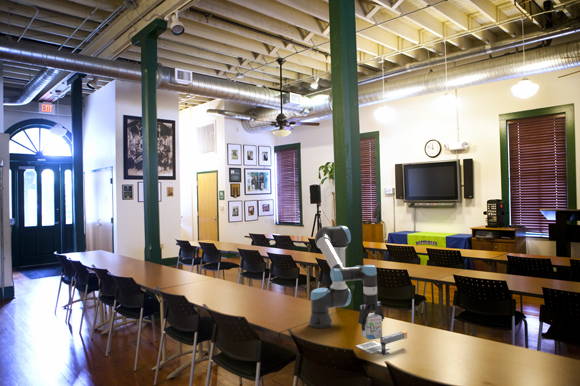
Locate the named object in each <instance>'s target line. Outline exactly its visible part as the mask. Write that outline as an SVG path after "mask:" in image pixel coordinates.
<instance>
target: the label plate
mask: <svg viewBox="0 0 580 386" xmlns="http://www.w3.org/2000/svg"><path fill="white" fill-rule="evenodd" d="M355 348H357V349H359V350H361V351H364V352H366V353H368V354H370V355H374V354H379V353H378V351H381V344H380V342H378V341H375V340H371V341H367V342H365V343H360V344H357V345H355ZM388 350H391V349H390V347H388V346H386V351H388Z"/></svg>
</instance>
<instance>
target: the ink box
mask: <svg viewBox="0 0 580 386" xmlns="http://www.w3.org/2000/svg"><path fill="white" fill-rule="evenodd" d="M365 324H366V325H367V337H365V336H363V330H362V329H361V335H362V336H363V337H364V338H365V339H367V340H368V341H369V340H371V341H372V340H377V339H380V338H381V337H383V321H382V317H381V316H379V315H377V314H375V313H374V312H372V313H371V312H370V313H369V315H368V317H367V318H366V323H365Z"/></svg>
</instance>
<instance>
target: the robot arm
mask: <svg viewBox="0 0 580 386" xmlns="http://www.w3.org/2000/svg"><path fill="white" fill-rule="evenodd" d="M351 240H352V236H351V231H350V229H349V228H348V227H347V226H346V225H335V226H334V225H333V226H324V227H323V226H322V228H319V230H318V231H317V232H316V233H315V237H314V241H315V245H316V247H317V248H318V249H320V251H321V253H322V255H323V257H324V259H325V260H326V263H327V265H328V266H329V268H330V271H329V277H330V280H331V281H332V283H331V285H330V286H329V288H328V287H319V288H318V287H317V288H315V289H313V290H311V292H310V309H311V310H310V317H309V320H308V326H309V325H310V326H311V328H313V327H314V328H313V329H327V328H328V329H329V328H331V327H332V326H333V320H332V318H331V316H330V309H333V308H334V309H335V308H344V307H347V306H349V304H351V300H352V292H351V290H350V288H349V287H348V285H347V284H346V282H350V281H351V282H352V281H362V287H363V288H362V291H363V304H360V305H359V315H358V322H357V324H360V326H361V331H362V330H363V335H362V337H364V336H365V337H364V338H366V337H367V325H366V324H365V323H366V318H367V317H368V315H369V313H371V312H373V313H375V314H377V315H379V316H381V317H382V322H384V321H383V320H385V314H384V311H383V307H382V301H378V300H379V299H378V277H377V275H378V271H377V266H376V265H374V264H365V265H355V266H352V267H351V266H349V267H346V249H347V248H348V244H349V243H351ZM310 326H309V327H310Z"/></svg>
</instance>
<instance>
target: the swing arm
mask: <svg viewBox="0 0 580 386" xmlns="http://www.w3.org/2000/svg"><path fill="white" fill-rule="evenodd" d="M379 339H380V340H379V341H380V342H379V344H381V345H388V344H391V343H395V342H397V341H400V340H407V339H408V332H407V331H406V330H401V331H399V332H395V333H392V334H390V335H389V334H388V335H385V336H382V337H381V338H379Z"/></svg>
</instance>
